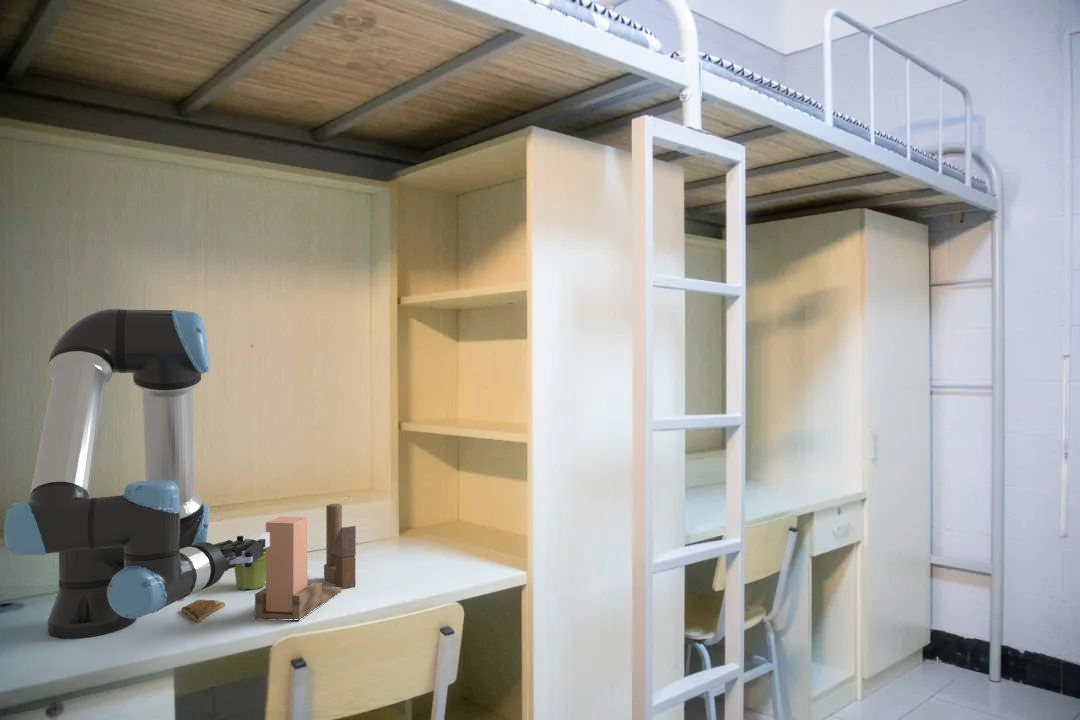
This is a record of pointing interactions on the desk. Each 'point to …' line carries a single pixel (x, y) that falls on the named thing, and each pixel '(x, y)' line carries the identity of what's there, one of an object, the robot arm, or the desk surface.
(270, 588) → the block
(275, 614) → the chute
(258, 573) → the plant pot
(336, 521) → the brown stepped tower
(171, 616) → the desk surface
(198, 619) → the shard
